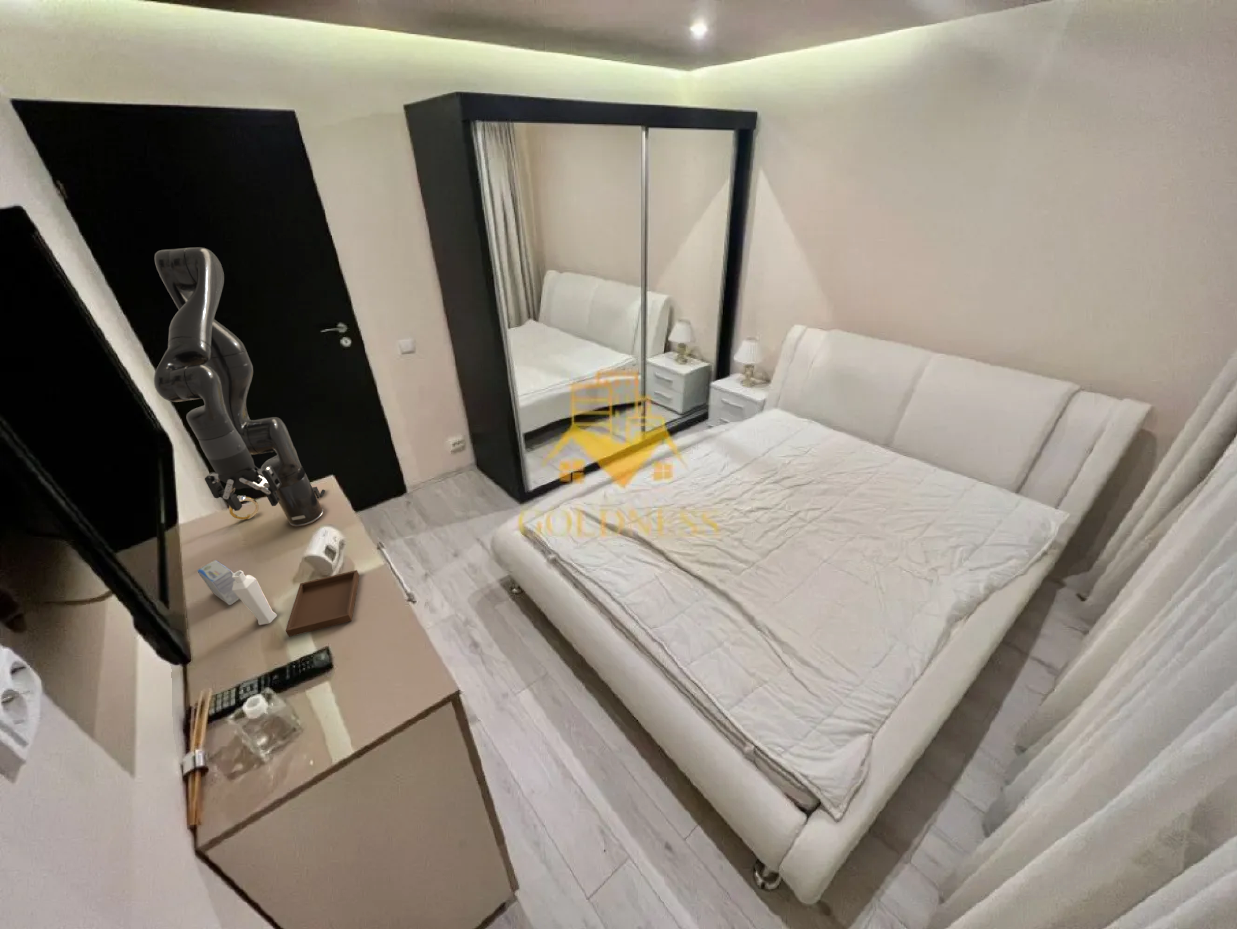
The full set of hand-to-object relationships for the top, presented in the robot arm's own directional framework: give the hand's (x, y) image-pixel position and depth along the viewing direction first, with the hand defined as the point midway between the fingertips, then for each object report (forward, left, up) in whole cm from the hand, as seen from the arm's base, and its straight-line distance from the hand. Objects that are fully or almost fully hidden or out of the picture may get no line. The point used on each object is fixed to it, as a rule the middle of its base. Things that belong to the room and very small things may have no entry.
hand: (257, 506), depth 118 cm
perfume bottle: (+19, -1, -20) cm, 28 cm away
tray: (+19, +12, -20) cm, 30 cm away
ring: (-27, -17, -20) cm, 37 cm away
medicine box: (+7, -12, -20) cm, 24 cm away
